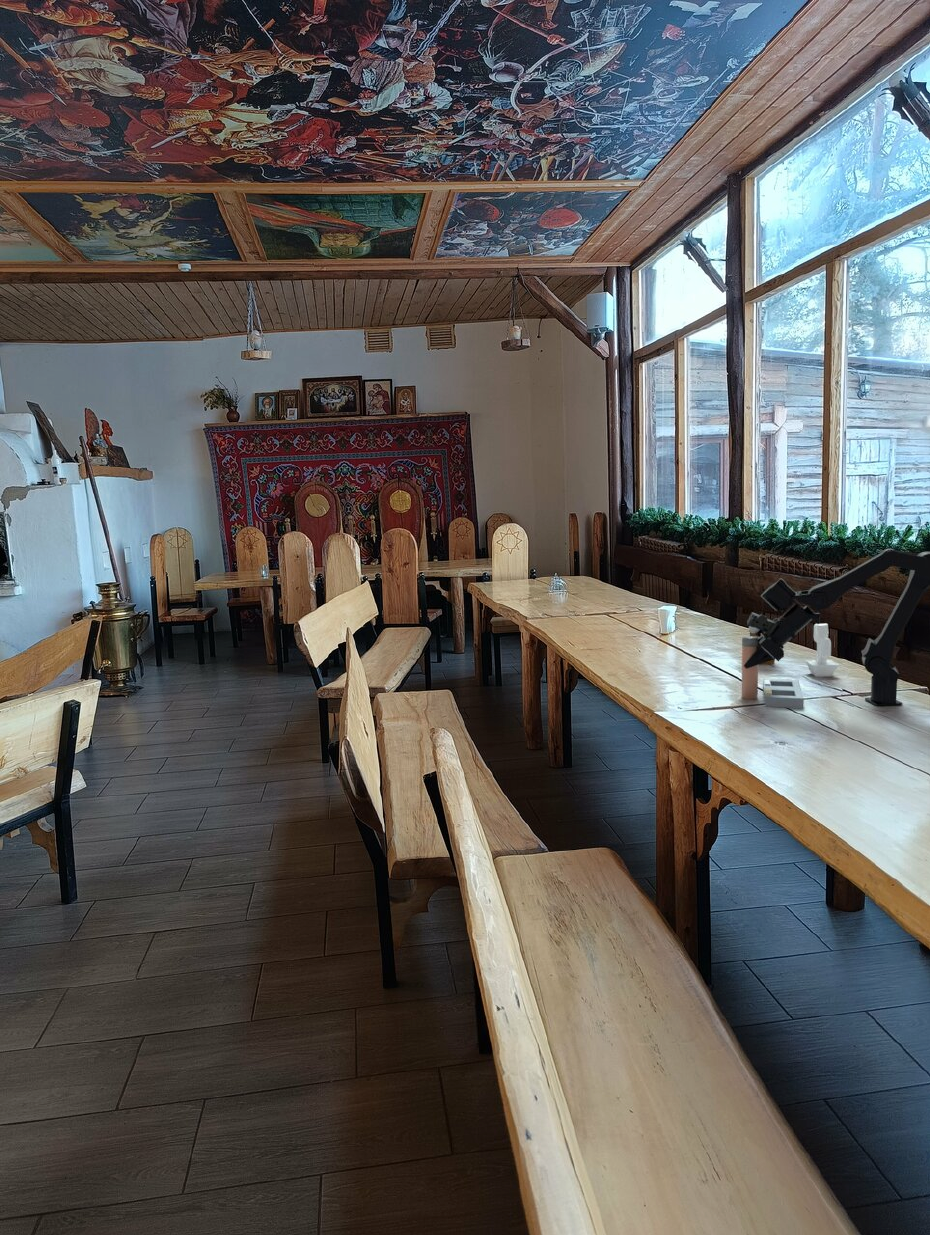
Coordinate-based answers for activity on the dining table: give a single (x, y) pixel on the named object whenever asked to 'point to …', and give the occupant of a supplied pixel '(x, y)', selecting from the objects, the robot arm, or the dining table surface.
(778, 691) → the socket plate
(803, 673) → the dining table surface
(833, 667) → the figurine
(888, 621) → the robot arm
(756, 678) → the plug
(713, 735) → the dining table surface
